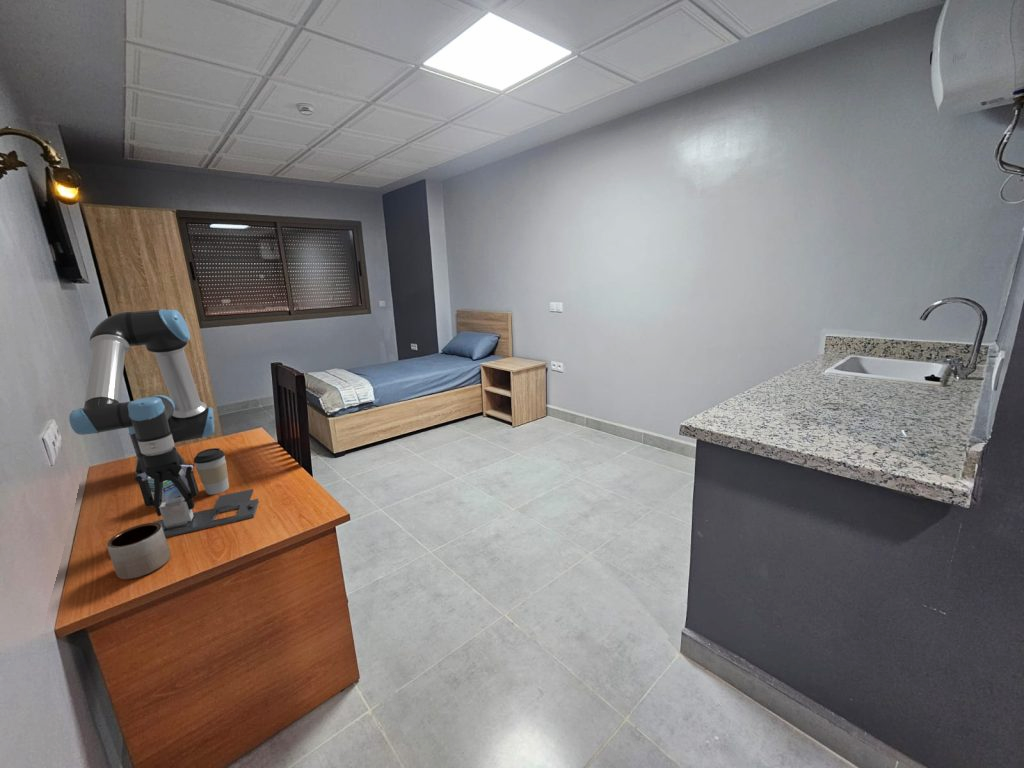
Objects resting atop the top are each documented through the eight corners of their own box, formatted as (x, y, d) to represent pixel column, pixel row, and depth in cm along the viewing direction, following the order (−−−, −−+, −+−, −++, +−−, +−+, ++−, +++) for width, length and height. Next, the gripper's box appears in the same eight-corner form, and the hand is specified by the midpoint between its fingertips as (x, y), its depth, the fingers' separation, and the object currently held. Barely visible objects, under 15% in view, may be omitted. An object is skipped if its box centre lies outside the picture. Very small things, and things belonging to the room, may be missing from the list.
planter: (107, 575, 105) (95, 543, 102) (155, 549, 114) (146, 519, 112) (133, 585, 101) (121, 552, 98) (181, 557, 111) (171, 526, 108)
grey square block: (173, 524, 126) (166, 498, 124) (193, 519, 128) (186, 494, 126) (168, 533, 122) (160, 506, 119) (188, 528, 123) (181, 502, 121)
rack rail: (154, 524, 126) (153, 519, 126) (258, 501, 137) (257, 497, 136) (141, 543, 117) (139, 537, 117) (253, 517, 128) (252, 512, 127)
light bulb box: (168, 508, 135) (159, 479, 132) (152, 507, 136) (143, 478, 134) (198, 492, 145) (190, 464, 142) (182, 491, 147) (175, 463, 144)
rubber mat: (219, 497, 141) (219, 495, 141) (253, 490, 144) (252, 488, 144) (212, 512, 132) (212, 510, 132) (248, 504, 136) (248, 502, 135)
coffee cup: (200, 499, 140) (189, 459, 136) (204, 487, 148) (194, 449, 144) (231, 491, 144) (221, 452, 140) (234, 481, 152) (225, 443, 148)
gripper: (112, 462, 111) (137, 536, 118) (192, 449, 118) (211, 519, 124) (124, 452, 118) (147, 522, 124) (200, 440, 125) (217, 507, 131)
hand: (179, 521), depth 124 cm, fingers closed on grey square block, 5 cm apart
